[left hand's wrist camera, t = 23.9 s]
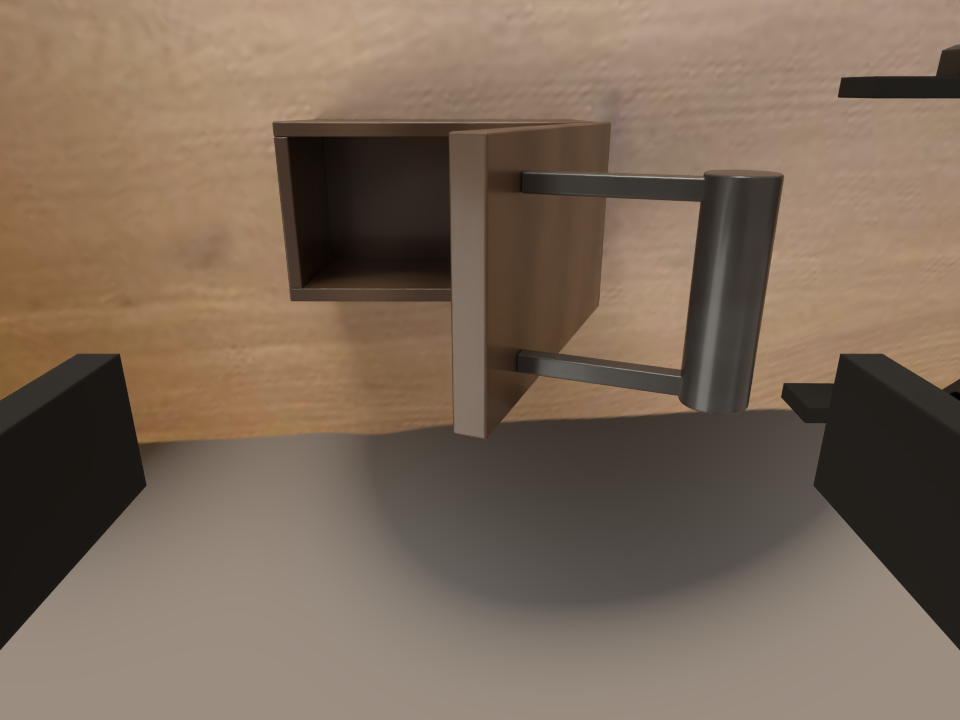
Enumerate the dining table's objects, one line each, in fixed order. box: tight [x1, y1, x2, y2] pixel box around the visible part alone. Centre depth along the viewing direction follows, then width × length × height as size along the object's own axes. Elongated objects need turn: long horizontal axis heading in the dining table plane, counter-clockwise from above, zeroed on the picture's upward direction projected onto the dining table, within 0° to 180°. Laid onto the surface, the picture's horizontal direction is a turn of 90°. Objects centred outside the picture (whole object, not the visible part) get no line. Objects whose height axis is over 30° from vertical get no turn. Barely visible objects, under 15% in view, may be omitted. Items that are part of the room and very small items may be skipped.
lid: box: [449, 122, 784, 439], centre depth 26 cm, size 17×10×9 cm
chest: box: [273, 119, 591, 301], centre depth 40 cm, size 17×10×9 cm, turn 90°
